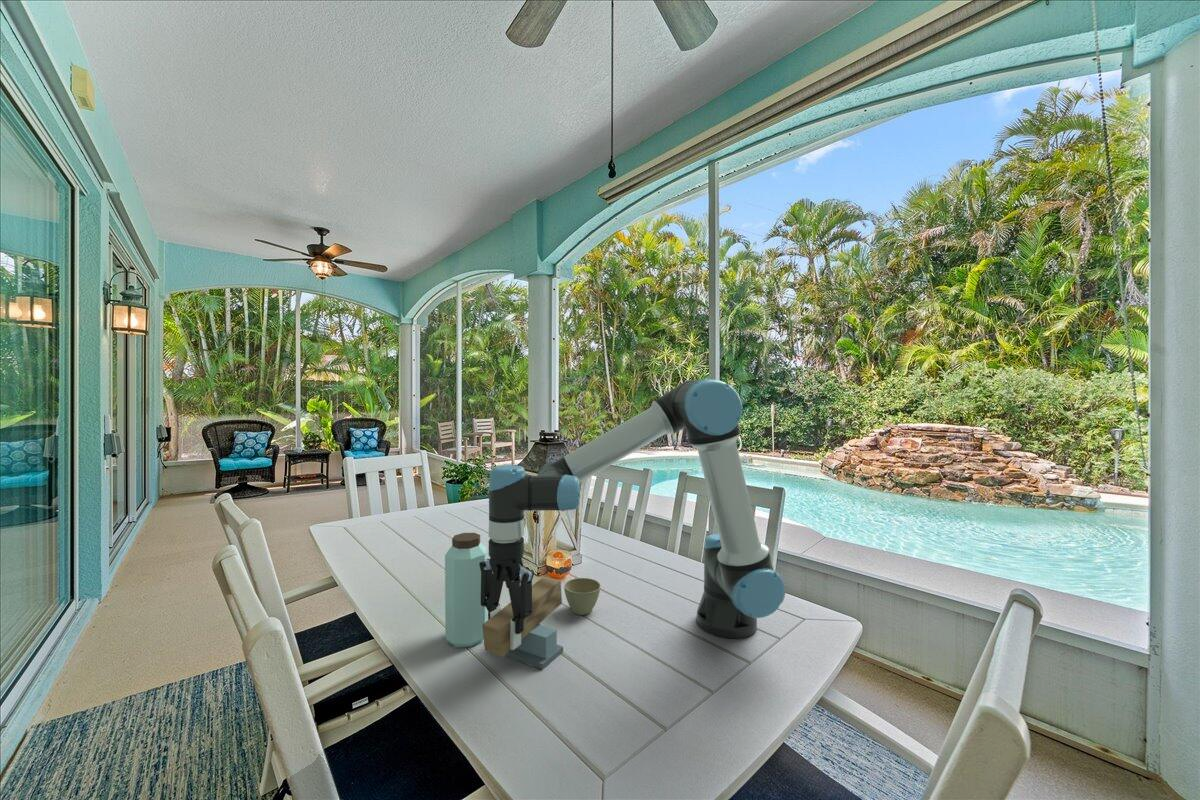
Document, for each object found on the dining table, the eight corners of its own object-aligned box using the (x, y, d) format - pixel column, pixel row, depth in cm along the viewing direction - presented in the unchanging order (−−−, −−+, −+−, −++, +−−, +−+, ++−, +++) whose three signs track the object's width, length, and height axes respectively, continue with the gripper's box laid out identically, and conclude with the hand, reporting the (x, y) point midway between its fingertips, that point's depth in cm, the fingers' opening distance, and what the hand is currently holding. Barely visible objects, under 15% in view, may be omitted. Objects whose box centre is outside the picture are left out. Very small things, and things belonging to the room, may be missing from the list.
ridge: (563, 651, 110) (563, 626, 109) (542, 669, 103) (542, 642, 102) (512, 634, 117) (512, 610, 117) (490, 650, 110) (490, 624, 110)
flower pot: (596, 621, 123) (596, 594, 123) (559, 617, 125) (559, 591, 125) (603, 604, 133) (603, 579, 133) (569, 600, 135) (569, 576, 135)
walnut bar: (545, 598, 120) (544, 576, 119) (562, 603, 118) (560, 580, 117) (484, 650, 101) (482, 624, 100) (502, 657, 99) (500, 630, 98)
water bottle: (449, 654, 108) (448, 546, 107) (441, 633, 117) (441, 533, 116) (492, 643, 113) (492, 539, 112) (482, 624, 122) (482, 528, 121)
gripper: (550, 540, 101) (549, 646, 102) (487, 526, 110) (486, 624, 111) (528, 550, 95) (527, 664, 96) (463, 535, 104) (462, 639, 104)
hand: (505, 642), depth 103 cm, fingers closed on walnut bar, 5 cm apart
